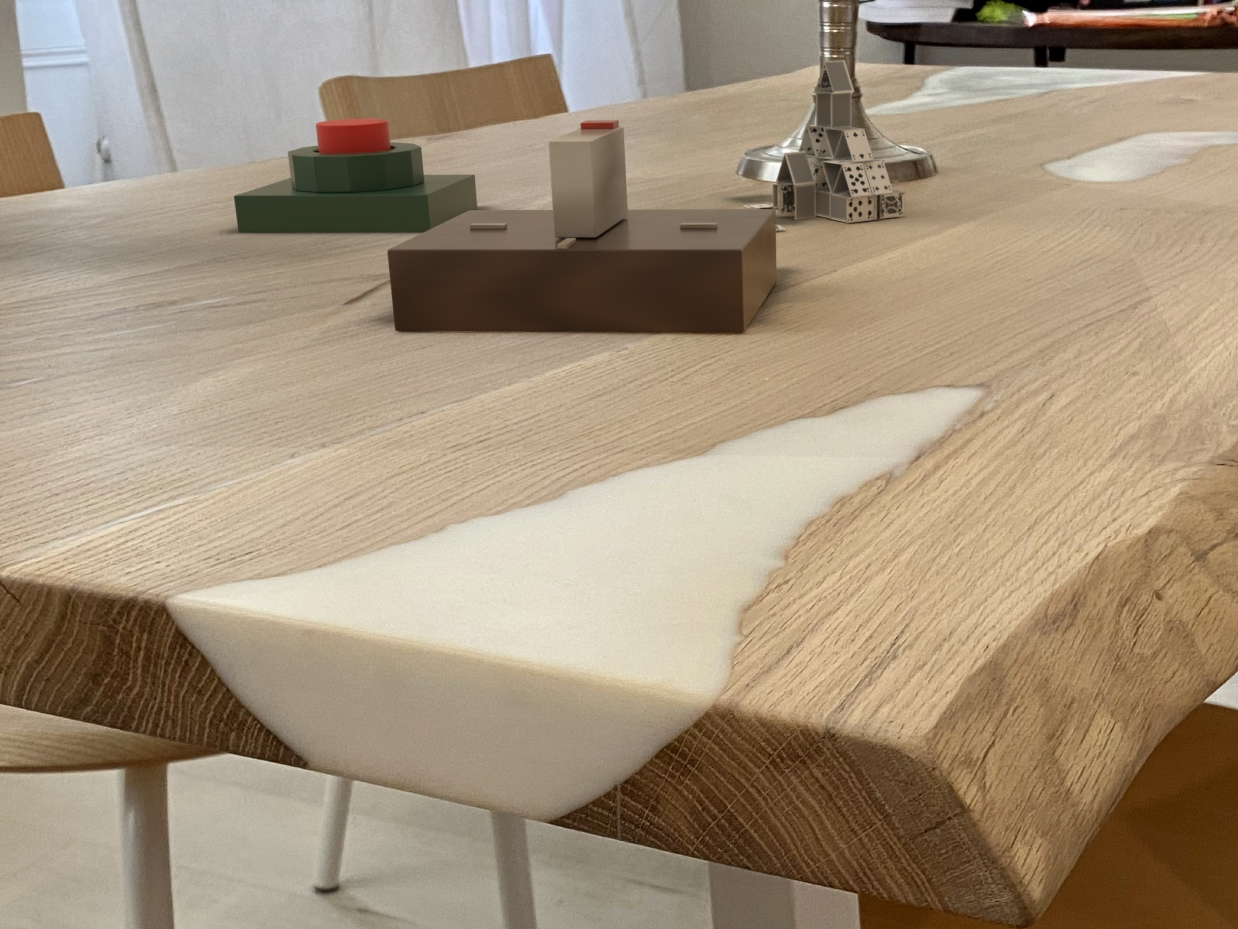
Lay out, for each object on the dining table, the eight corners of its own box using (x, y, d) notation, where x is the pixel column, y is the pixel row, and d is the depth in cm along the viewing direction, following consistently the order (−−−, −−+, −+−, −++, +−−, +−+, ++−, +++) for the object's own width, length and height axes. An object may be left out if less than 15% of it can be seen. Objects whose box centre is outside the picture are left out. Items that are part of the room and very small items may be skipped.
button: (308, 161, 81) (304, 125, 81) (335, 153, 85) (331, 119, 84) (377, 160, 81) (373, 124, 80) (401, 152, 84) (397, 118, 84)
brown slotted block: (394, 331, 59) (385, 245, 58) (473, 281, 69) (467, 206, 68) (743, 333, 58) (741, 244, 57) (777, 282, 67) (775, 204, 66)
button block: (239, 240, 81) (228, 158, 80) (301, 216, 88) (292, 141, 87) (431, 239, 80) (423, 156, 78) (478, 215, 87) (472, 139, 86)
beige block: (596, 238, 60) (590, 133, 58) (554, 237, 60) (547, 134, 58) (628, 216, 65) (623, 119, 63) (589, 216, 65) (583, 120, 64)
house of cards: (677, 212, 86) (671, 62, 84) (813, 198, 91) (812, 55, 88) (766, 233, 79) (763, 70, 76) (909, 216, 83) (911, 61, 81)
